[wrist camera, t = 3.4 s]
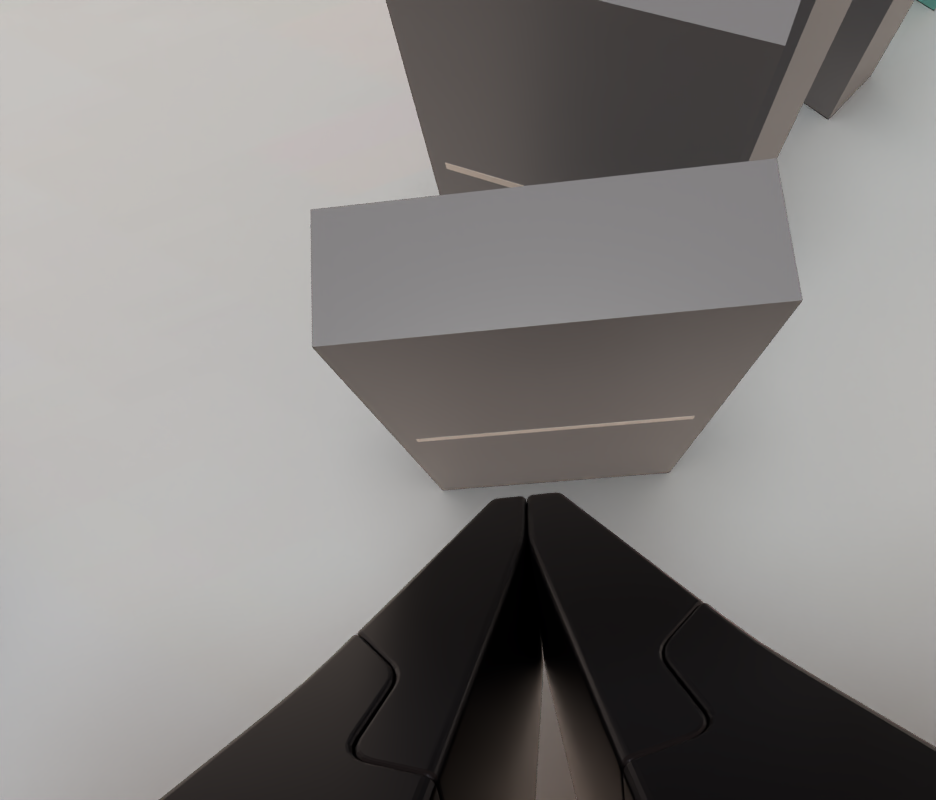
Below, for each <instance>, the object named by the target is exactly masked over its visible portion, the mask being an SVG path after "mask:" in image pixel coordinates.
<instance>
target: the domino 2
mask: <svg viewBox="0 0 936 800" xmlns="http://www.w3.org/2000/svg"><path fill="white" fill-rule="evenodd" d="M311 291H312V347H313V349H314V350H315V351H316V352H317V353H318V354H319V355H320V356H321V357H322V358H323V360H324V361H325V362H326V363H327V364H328V365H329V366H330V367H331V368H332V369H333V370H334V372H335V373H336V374H337V375H338V376H339V377H340V378H341V379H342V380H343V381H344V383H345V384H346V385H347V386H348V387H349V388H350V389H351V390H352V391H353V392H354V394H355V395H356V396H357V397H358V398H359V399H360V400H361V401H362V402H363V403H364V404H365V406H366V407H367V408H368V409H369V410H370V411H371V412H372V413H373V414H374V415H375V417H376V418H377V419H378V420H379V421H380V422H381V423H382V424H383V425H384V426H385V428H386V429H387V430H388V431H389V432H390V433H391V434H392V435H393V436H394V437H395V438H396V440H397V441H398V442H399V443H400V444H401V445H402V446H403V447H404V448H405V449H406V451H407V452H408V453H409V454H410V455H411V456H412V457H413V458H414V459H415V460H416V462H417V463H418V464H419V465H420V466H421V467H422V468H423V469H424V470H425V471H426V472H427V474H428V475H429V476H430V477H431V478H432V479H433V480H434V481H435V482H436V483H437V485H438V486H439V487H440V488H441V489H442V490H452V489H465V488H478V487H491V486H503V485H516V484H529V483H542V482H555V481H567V480H580V479H593V478H606V477H618V476H631V475H644V474H657V473H669V472H670V471H671V470H672V469H673V467H674V466H675V465H676V463H677V462H678V461H679V459H680V458H681V457H682V456H683V454H684V453H685V452H686V450H687V449H688V448H689V447H690V445H691V444H692V443H693V441H694V440H695V439H696V437H697V436H698V435H699V434H700V432H701V431H702V430H703V428H704V427H705V426H706V425H707V423H708V422H709V421H710V419H711V418H712V417H713V416H714V414H715V413H716V412H717V410H718V409H719V408H720V406H721V405H722V404H723V403H724V401H725V400H726V399H727V397H728V396H729V395H730V394H731V392H732V391H733V390H734V388H735V387H736V386H737V385H738V383H739V382H740V381H741V379H742V378H743V377H744V375H745V374H746V373H747V372H748V370H749V369H750V368H751V366H752V365H753V364H754V363H755V361H756V360H757V359H758V357H759V356H760V355H761V353H762V352H763V351H764V350H765V348H766V347H767V346H768V344H769V343H770V342H771V341H772V339H773V338H774V337H775V335H776V334H777V333H778V332H779V330H780V329H781V328H782V326H783V325H784V324H785V322H786V321H787V320H788V319H789V317H790V316H791V315H792V313H793V312H794V311H795V310H796V308H797V307H798V306H799V304H800V303H801V302H802V300H803V299H802V294H801V288H800V283H799V278H798V272H797V267H796V261H795V256H794V250H793V245H792V240H791V234H790V229H789V223H788V218H787V212H786V207H785V201H784V196H783V191H782V185H781V180H780V174H779V169H778V163H777V158H774V159H764V160H755V161H746V162H737V163H728V164H719V165H710V166H701V167H692V168H683V169H674V170H665V171H656V172H647V173H638V174H629V175H620V176H611V177H602V178H592V179H583V180H574V181H565V182H556V183H547V184H538V185H529V186H520V187H511V188H502V189H493V190H484V191H475V192H466V193H457V194H448V195H439V196H430V197H420V198H411V199H402V200H393V201H384V202H375V203H366V204H357V205H348V206H339V207H330V208H321V209H312V210H311Z"/></svg>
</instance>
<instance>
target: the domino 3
mask: <svg viewBox="0 0 936 800" xmlns="http://www.w3.org/2000/svg"><path fill="white" fill-rule="evenodd" d="M851 2H852V0H801V1H800V4H799V7H798V10H797V13H796V16H795V19H794V22H793V25H792V27H791V30H790V33H789V36H788V39H787V42H786V45H785V47H784V50H783V52H782V55H781V57H780V60H779V62H778V65H777V68H776V70H775V73H774V75H773V78H772V80H771V83H770V85H769V88H768V90H767V93H766V95H765V98H764V100H763V103H762V105H761V108H760V110H759V113H758V115H757V118H756V120H755V123H754V125H753V128H752V130H751V133H750V135H749V138H748V140H747V143H746V145H745V148H744V150H743V153H742V155H741V158H740V160H739V162H746V161H755V160H764V159H774V158H777V157H778V155H779V153H780V151H781V149H782V147H783V144H784V142H785V140H786V138H787V136H788V134H789V132H790V130H791V128H792V126H793V123H794V121H795V119H796V117H797V115H798V113H799V111H800V109H801V107H802V105H803V103H804V100H805V98H806V96H807V94H808V92H809V90H810V88H811V86H812V84H813V82H814V79H815V77H816V75H817V73H818V71H819V69H820V67H821V65H822V63H823V61H824V59H825V56H826V54H827V52H828V50H829V48H830V46H831V44H832V42H833V40H834V38H835V36H836V33H837V31H838V29H839V27H840V25H841V23H842V21H843V19H844V17H845V15H846V12H847V10H848V8H849V6H850V4H851Z"/></svg>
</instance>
